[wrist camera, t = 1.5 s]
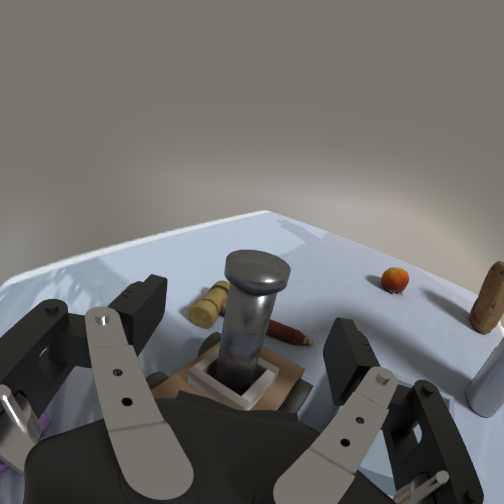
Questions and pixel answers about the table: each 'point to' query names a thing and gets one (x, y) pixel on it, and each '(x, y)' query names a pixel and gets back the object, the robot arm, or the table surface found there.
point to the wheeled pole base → (255, 398)
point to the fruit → (395, 280)
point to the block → (489, 300)
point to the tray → (377, 456)
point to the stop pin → (247, 314)
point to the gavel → (215, 304)
